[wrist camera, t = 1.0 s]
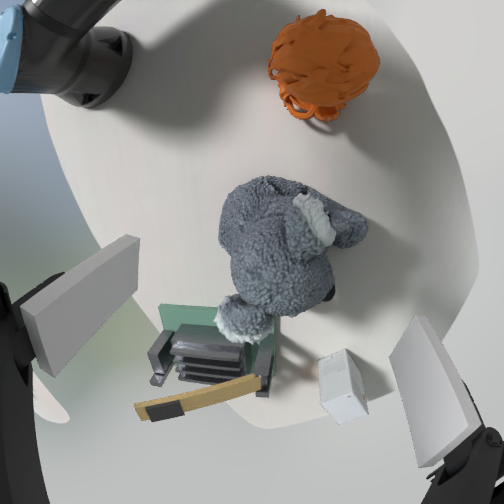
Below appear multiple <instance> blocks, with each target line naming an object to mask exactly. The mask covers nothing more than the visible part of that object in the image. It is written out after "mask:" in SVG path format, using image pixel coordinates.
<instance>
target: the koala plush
mask: <svg viewBox="0 0 504 504" xmlns="http://www.w3.org/2000/svg"><path fill="white" fill-rule="evenodd" d="M219 226H220V228H219V236H218V239H219V243H220V245H221V246H222V248H225V250H226V251H228V254H230V256H231V267H230V268H231V276H232V280H233V283H234V285H235V286H236V289H237V291H238V293H239V294H235V295H232V296H230V295H229V296H225V299H224V300H223V302H222V303H221V304H220V305H219V306H218V312H217V317H216V316H215V319H214V320H213V321H214V323H216V322H217V326H218V328H219V332H221V333H222V334H223V335H224V334H225V336H226V339H228V341H229V340H230V341H231V342H232V343H235V342H236V343H239V342H241V344H242V343H244V342H246V341H247V342H249V343H251V344H252V345H254V344H253V343H254V342H257V343H258V344H259V343H260V340H263V339H264V338H265V337H267V336H268V334H269V333H270V332H272V329H271V328H273V327H274V325H273V323H274V322H273V321H274V319H275V318H274V316H275V317H276V316H289V317H291V318H292V317H294V316H297V315H298V314H299V313H301V312H305V311H306V310H308V309H310V308H312V307H314V306H315V305H317V304H320V303H321V302H322V301H324V302H327V301H330V300H331V299H332V298H333V297H334V295H335V283H334V276H333V273H332V270H333V269H332V268H331V265H330V263H329V261H328V258H327V256H326V252H327V250H328V248H329V246H331V245H332V244H333V245H335V246H337V247H339V248H341V249H344V248H350V247H353V246H355V245H356V244H358V243H359V242H360V241H362V239H363V238H364V237H365V235H366V233H367V230H368V222H367V220H366V219H365V218H364V217H363V215H361V214H360V213H358V212H356V211H353V210H350V209H347V208H346V207H344V206H341V205H340V204H338V203H335V202H334V201H333V200H331V199H329V198H327V197H325V196H324V195H321V194H320V193H318V192H316V191H315V190H313V189H312V188H311V187H309V186H307V185H303V184H302V183H300V182H296V181H291V180H286V179H284V178H281V177H275V176H273V177H272V176H269V175H267V176H265V177H263V176H261V177H259V178H255V179H252V181H249V182H248V183H246V184H243V185H239V186H238V187H236V189H235V190H233V192H231V193H229V194H228V196H227V199H226V201H225V203H224V205H223V208H222V214H221V217H220V225H219ZM222 334H221V335H222ZM259 345H260V344H259Z"/></svg>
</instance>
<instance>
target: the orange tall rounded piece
mask: <svg viewBox="0 0 504 504" xmlns="http://www.w3.org/2000/svg"><path fill="white" fill-rule="evenodd" d="M325 15H326V10H325V9H321V10H319V11H318V12H317V14H315V15H312V16H308V17H306V18H304V19H301V20H300V15H298V16H297V18H296V21H295V22H294V23H291V24H288V25H286V26H285V27H284V28H283V29H282V31H281V32H279V33H278V37H277V39H276V40H275V41H274V42H273V43H272V53H271V59H270V60H269V61H268V75H269V77H270V79H272V80H277V81H278V86H279V88H280V93H279V95H280V98H281V99H282V100H283V103H284V107H286V106H288V109H287V110H289V112H290V113H291V114H292V116H294V117H295V118H298V119H299V120H301V119H303V120H306V119H310V118H312V117H313V116H314V115H315V116H316V118H317V119H319V120H320V121H324V122H328V121H329V120H331V121H333V120H336V119H337V117H338V116H339V115H340V112H339V111H338V110H337V109H339V110H342V109H344V108H345V105H346V104H342V103H346V102H347V101H349V100H351V99H352V98H354V97H356V96H358V95H360V94H361V93H363V92H364V91H365V90H366V89H367V86H368V84H369V81H370V80H371V79H372V78H373V77H374V75H375V74H376V72H377V70H378V68H379V65H380V58H379V56H378V53H377V51H376V49H375V47H374V45H373V43H372V41H371V38H370V36H369V34H368V32H367V31H366V30H365V29H364V28H363V27H362V26H361V25H359V24H358V23H357V22H355V21H352V20H350V19H344V18H337V17H334V16H333V15H329V16H325ZM272 60H273V62H272V65H271V66H270V63H271V61H272ZM273 69H276V70H278V71H279V73H278V74H277V77H276V76H274V75H273V74H272V70H273ZM292 102H293V103H294V104H296V105H297V106H298V107H300V108H302V109H304V110H307V111H308V112H305V113H300V112H297V111H296V110H295V109H294V106H293V103H292Z"/></svg>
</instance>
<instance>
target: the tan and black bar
mask: <svg viewBox="0 0 504 504" xmlns="http://www.w3.org/2000/svg"><path fill="white" fill-rule="evenodd" d="M266 389H267V376H260V375H254V373H252V374H249V375H246V376H243V377H240V378H237V379H233V380H230V381H227V382H223V383H220V384H216V385H213V386H209V387H206V388H202V389H198V390H194V391H190V392H186V393H182V394H178V395H174V396H170V397H165V398H160V399H155V400H150V401H145V402H140V403H135V404H134V407H135V410H136V412H137V414H138V415H139V417H140V419H141V421H144V420H151V422H155V421H160V420H165V419H170V418H174V417H178V416H183V415H185V414H184V412H186V411H190V410H194V409H198V408H202V407H205V406H209V405H213V404H216V403H220V402H223V401H227V400H230V399H233V398H236V397H240V396H243V395H246V394H249V393H252V392H255V391H258V390H266Z"/></svg>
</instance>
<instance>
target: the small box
mask: <svg viewBox="0 0 504 504" xmlns="http://www.w3.org/2000/svg"><path fill="white" fill-rule="evenodd" d="M318 365H319V387H320V404H321V405H322V407H323V408H324V409H325V410H326V411H327V412H328V413H329V414H330V416H331V417H332V418H333V419H334V420H335V421H336V422H337V423H338V425H341V424H344V423H347V422H350V421H353V420H356V419H358V418H361V417H364V416H366V415H368V414H369V413H368V408H367V402H366V396H365V391H364V386H363V381H362V376H361V373H360V371H359V369H358V368H357V366H356V365H355V363H354V361H353V360H352V358H351V357H350V355H349V353H348V352H347V350H346V349H343V350H341V351H339V352H337V353H334V354H332V355H330V356H328V357H325V358H323V359H321V360H319V361H318Z"/></svg>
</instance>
